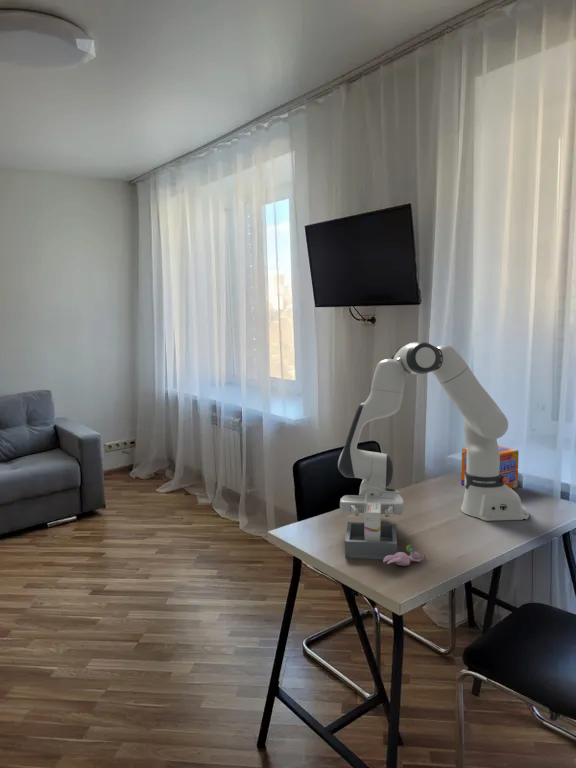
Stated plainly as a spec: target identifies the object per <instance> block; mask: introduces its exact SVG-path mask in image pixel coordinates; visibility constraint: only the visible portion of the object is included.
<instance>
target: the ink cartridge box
mask: <svg viewBox="0 0 576 768" xmlns="http://www.w3.org/2000/svg"><path fill="white" fill-rule="evenodd" d="M366 497H367V494H366ZM381 517H382V514H381V504H379V503H366V499H365V509H364V513H363V518H364V519H363V520H364V521H363V523H364V540H365V541H380V529H381V522H382V518H381Z"/></svg>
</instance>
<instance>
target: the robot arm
mask: <svg viewBox="0 0 576 768" xmlns="http://www.w3.org/2000/svg"><path fill="white" fill-rule="evenodd" d="M428 373H432V375H434V376H435V377H436V379H437V381H438V382H439V383H440V385H441V387H442V388H443V390H444V391H445V392H446V395H448V397H449V399H450V400H451V401H452V403H454V405H455V406H456V407H457V409H458V410H459V411H460V413H461V416H462V420H463V430H464V439H465V447H466V449H467V466H466V471H465V485H464V488H465V489H464V495H463V501H462V503H461V507H460V510H461V512H462V513H463V514H465V515H466V516H467V515H468V516H470V517H474V518H478V519H480V520H482V521H485V522H486V521H488V522H489V521H490V522H493V521H522V520H523V519H526V520H528V519H529V518H528V517H530V512H529V511H528V509H527V508H526V507H524V505H523V503H522V499H521V497H520V496H519V494H518V493H517V492H516V491H515V490H514V489H511V488H509V487H508V486H507V485H505V484H508V483H509V480H508V478H507V477H505V476H504V475H502V474H501V473H499V468H500V451H499V448H498V446H499V444H498V440H497V439H499V438H502V437H503V436H504V435H506V433H507V431H508V428H509V421H508V417H506V416H507V415H505V414H504V412H503V411H502V409H501V408H500V407H499V405H498V403H496V402H495V400H494V398H492V396H491V395H490V394H489V393H488V392H487V390H486V389H485V388H484V387H483V386H482V384H481V383H480V381H479V380H478V379H477V377H476V375H475V374H474V373H473V371H472V370H471V368H470V367H469V365H468V364H467V363H466V361H465V360H464V358H463V357H462V356H461V355H460V353H459V352H458V351H457V350H456V349H455V348H453V346H452V345H450V344H441V345H438V346H434V345H433V344H431V343H428V342H426V341H419V342H418V341H415V342H414V341H413V342H410V343H406V344H404V345H401V346H400V347H398V349H397V350H396V351H395V353H394V354H393V355H392V357H390V358H385V359H382V360H380V361H379V362H378V363H377V364H376V368H375V370H374V373H373V378H372V380H371V387H370V393H369V394H368V397H366V398H367V399H366V400H365V401H363V402H361V403H360V404H359V405H358V407H357V410H356V411H355V415H354V416H353V420H352V422H351V426H350V427H349V428H350V429H349V431H348V434H347V438H346V442H345V443H344V444H345V445H344V447H343V449H342V451H341V453H340V454H339V458H338V461H337V469H338V471H339V472H340V474H341V475H342V476H344V477H345V478H351V479H353V478H354V479H361V480H362V481H361V483H360V486H359V493H358V495H357V494H356V495H355V494H351V495H350V494H345V495H343V496H342V497H341V498H340V500H339V510H340V512H341V513H343V514H344V513H346V514H347V513H350V514H353V516H355V517H357V516H359V514H364V509H365V499H366V503H379V504H381V515H382V514H383V515H384V517H385V518H387V517H388V518H390V517H391V515H404V514H405V501H404V499H403V497H402V495H400V491H399V490H398V489H392V488H389V486H390V485H391V484H392V480H393V476H394V475H393V472H394V467H393V466H394V465H393V460H392V458H391V457H390V456H389V454H388V453H384V452H383V453H382V452H378V451H369V450H364V449H359V448H358V443H359V440H360V438H361V434H362V431H363V427H364V426H366V424H367V423H369V422H372V421H374V420H378V419H379V420H380V419H383V418H388V417H391V416H393V415H394V414H396V413H397V412H398V411H399V410H400V408H401V406H402V402H403V397H404V391H405V384H406V381H407V379H408V378H409V376H417V375H422V374H428ZM366 494H367V497H366Z"/></svg>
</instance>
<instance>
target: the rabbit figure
mask: <svg viewBox="0 0 576 768" xmlns="http://www.w3.org/2000/svg"><path fill="white" fill-rule="evenodd" d="M411 546H412V544H407V546H406V548H405V549H406V551H407V552H408V553H409V555H407V553H406V552H404V551H403V552H402V551H397V553H396V554H395V555H388V556H386V557H385V558H384V559H382V562H383V563H385V562H387V563H386V564H387V565H388V564H389V565H390V564H391V563H395V564H396V565H398V566H401V567H405V566H406V567H408V566H410V564H411V563H412V562H415V563H416V562H417V563H421V562H422V561H423V559H424V560H427V554H424V553H423V554H421V553H420V552H421V551H418V550H417V551H415V550H414V549H413V548H412V547H411Z"/></svg>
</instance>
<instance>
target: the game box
mask: <svg viewBox="0 0 576 768" xmlns="http://www.w3.org/2000/svg"><path fill="white" fill-rule="evenodd" d="M498 448H499V451H500V468H499V473H501V474H502V475H504V476H505V477H507V478H508V480H509V483H508V484H505V485H507V486H508V487H509V488H514V489H517V488H518V483H519V481H518V480H519V479H518V478H519V452H520V451H519V450H518V449H514V448H508V447H506V446H501V445H498ZM466 466H467V449H466V446H465V447H462V448H461V469H460V470H461V471H460V472H461V473H460V475H461V477H460V478H461V480H460V481H461V482H460V483H461V485H462V484H463V486H465V471H466Z"/></svg>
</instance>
